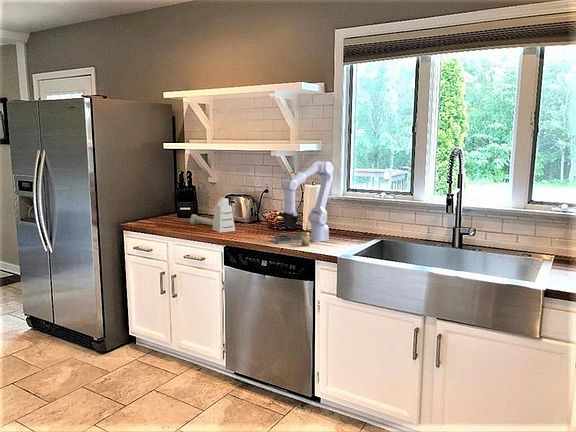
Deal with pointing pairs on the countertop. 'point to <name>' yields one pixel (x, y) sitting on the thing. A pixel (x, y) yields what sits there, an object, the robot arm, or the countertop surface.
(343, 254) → the countertop surface
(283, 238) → the manifold plate
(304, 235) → the cylinder
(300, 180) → the robot arm
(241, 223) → the countertop surface
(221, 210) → the grater
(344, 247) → the countertop surface
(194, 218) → the grey flared rod
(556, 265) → the countertop surface
